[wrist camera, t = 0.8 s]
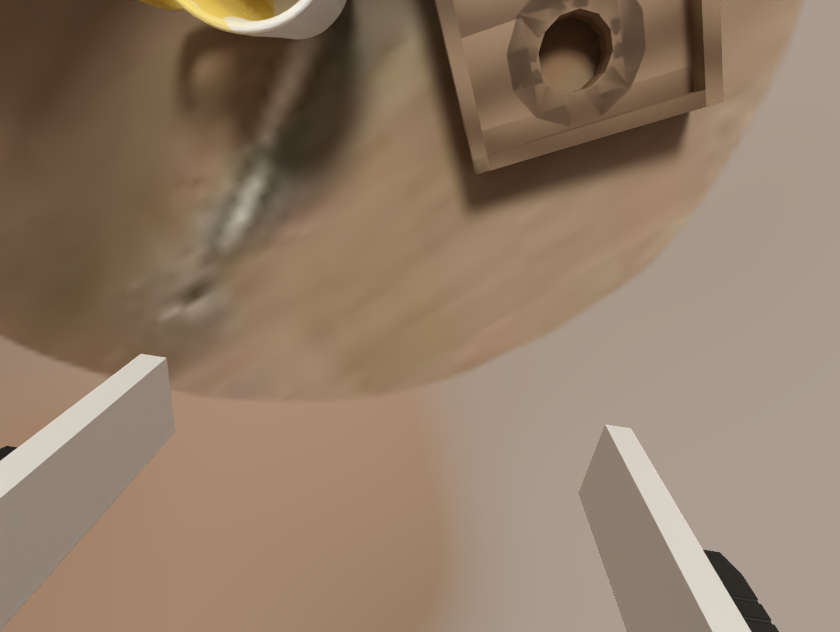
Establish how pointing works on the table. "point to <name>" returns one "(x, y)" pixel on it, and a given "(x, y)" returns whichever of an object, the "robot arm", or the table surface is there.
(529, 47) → the board
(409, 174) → the table surface
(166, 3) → the mug
